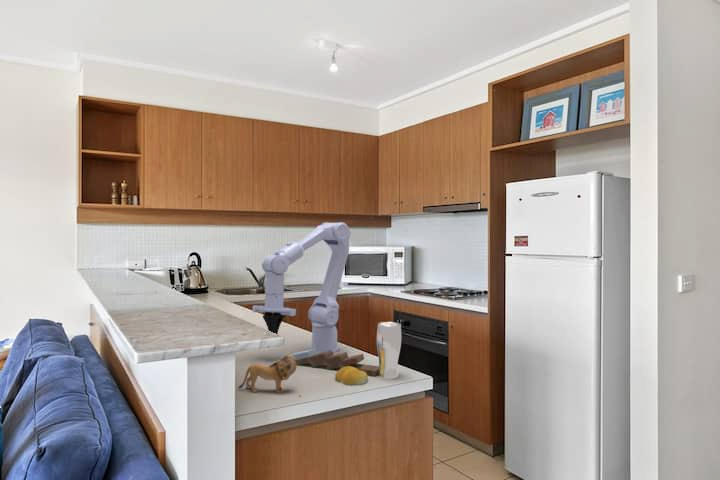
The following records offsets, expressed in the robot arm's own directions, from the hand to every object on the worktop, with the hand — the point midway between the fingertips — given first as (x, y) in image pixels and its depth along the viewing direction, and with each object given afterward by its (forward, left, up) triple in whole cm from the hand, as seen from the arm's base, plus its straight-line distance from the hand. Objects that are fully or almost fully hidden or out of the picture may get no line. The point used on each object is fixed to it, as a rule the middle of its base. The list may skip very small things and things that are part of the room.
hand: (273, 337), depth 154 cm
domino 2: (0, +10, -6) cm, 12 cm away
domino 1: (0, +4, -6) cm, 8 cm away
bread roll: (+8, +30, -8) cm, 32 cm away
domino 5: (0, +25, -6) cm, 26 cm away
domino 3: (0, +15, -6) cm, 16 cm away
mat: (0, +16, -7) cm, 17 cm away
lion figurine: (+25, +14, -8) cm, 29 cm away
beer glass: (0, +38, -8) cm, 39 cm away
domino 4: (0, +20, -6) cm, 21 cm away
